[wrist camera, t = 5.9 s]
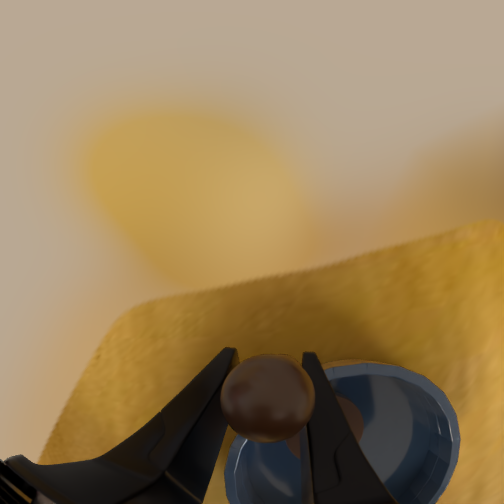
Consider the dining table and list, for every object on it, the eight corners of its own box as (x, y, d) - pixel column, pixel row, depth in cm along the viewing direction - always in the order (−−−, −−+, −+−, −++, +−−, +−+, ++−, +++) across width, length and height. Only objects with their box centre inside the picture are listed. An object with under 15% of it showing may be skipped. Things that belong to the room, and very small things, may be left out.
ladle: (370, 433, 14) (460, 543, 2) (305, 467, 14) (302, 610, 2) (313, 329, 16) (344, 302, 5) (247, 365, 16) (142, 403, 5)
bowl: (397, 525, 11) (411, 551, 8) (223, 509, 14) (207, 537, 10) (452, 366, 15) (483, 369, 11) (263, 343, 18) (253, 343, 14)
